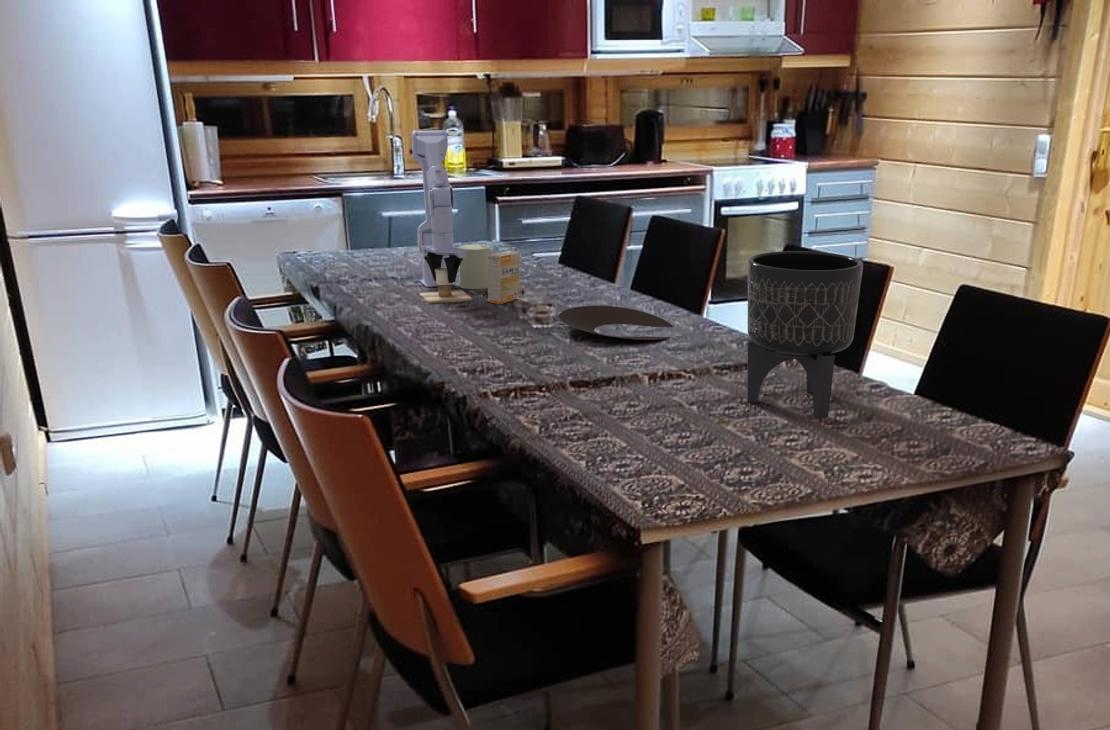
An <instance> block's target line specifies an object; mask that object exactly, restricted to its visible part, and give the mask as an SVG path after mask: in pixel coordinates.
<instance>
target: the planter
mask: <svg viewBox="0 0 1110 730" xmlns="http://www.w3.org/2000/svg"><path fill="white" fill-rule="evenodd" d="M863 269H864V263H863V262H862V261H861V260H860V259H858V258H856V257H853V256H848V255H845V254H837V253H832V252H831V253H830V252H823V251H810V250H809V251H807V250H806V251H803V250H802V251H801V250H800V251H799V250H792V251H791V250H788V251H787V250H786V251H785V250H784V251H782V250H781V251H770V252H762V253H758V254H754V255H751V256H750V257H749V258H748V260H747V335H748V339H747V341H746V342H747V351H746V352H747V357H746V359H747V360H746V361H747V362H746V363H747V365H746V367H747V377H746V378H747V380H746V382H747V383H746V384H747V389H746V390H747V391H746V395H747V396H746V397H747V401H746V402H747V404H748V403H749V404H750V403H751V404H753V403H754V404H758V400H759V396H760V391H761V387H762V386H763V383H764V380H765V379H766V377H767V375H768V374H770V372H771V371H772V370H773V369H775V367H777V366H779V365H780V364H783V363H784V362H787V361H791V360H792V361H793V360H796V361H797V362H799V363H800V364H801V366H802V367H803V369H804V371H805V372H806V373H805V374H806V393H807V394H811V395H812V406H813V407H812V410H813V411H812V416H814V417H816V418H818V419H825V418H828V417H829V415H830V405H831V404H830V403H831V394H832V385H833V377H834V370H835V369H834V368H835V358H836V355H835V354H834V353H838V352H842V351H844V350H846V349H847V348H848V347H850V346H851V344H852V342H853V340H854V336H855V329H856V322H857V314H858V306H859V299H860V294H861V293H860V292H861V284H862V278H863Z"/></svg>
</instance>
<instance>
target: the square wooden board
mask: <svg viewBox="0 0 1110 730" xmlns="http://www.w3.org/2000/svg"><path fill="white" fill-rule="evenodd" d="M437 287H438V289H437V291H428V292H426V291H425V292H418V294H419V297H421V299H423V300H424V301H425V302H426V304H428V305H432V304H433V305H435V304H446V303H457V302H459V303H460V302H467V301H473V298H472V297H471V296H470V295H468V294H467V293H466V292H465V291H464V290H462V289H453V290H452V285H438V286H437Z"/></svg>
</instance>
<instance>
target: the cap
mask: <svg viewBox="0 0 1110 730" xmlns="http://www.w3.org/2000/svg"><path fill="white" fill-rule="evenodd" d="M435 272H436V284H437V285H451V284H453V285H454V282H453V283H449V282H448V273H447V267H442V268H436V269H435ZM451 286H452V285H451Z"/></svg>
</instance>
